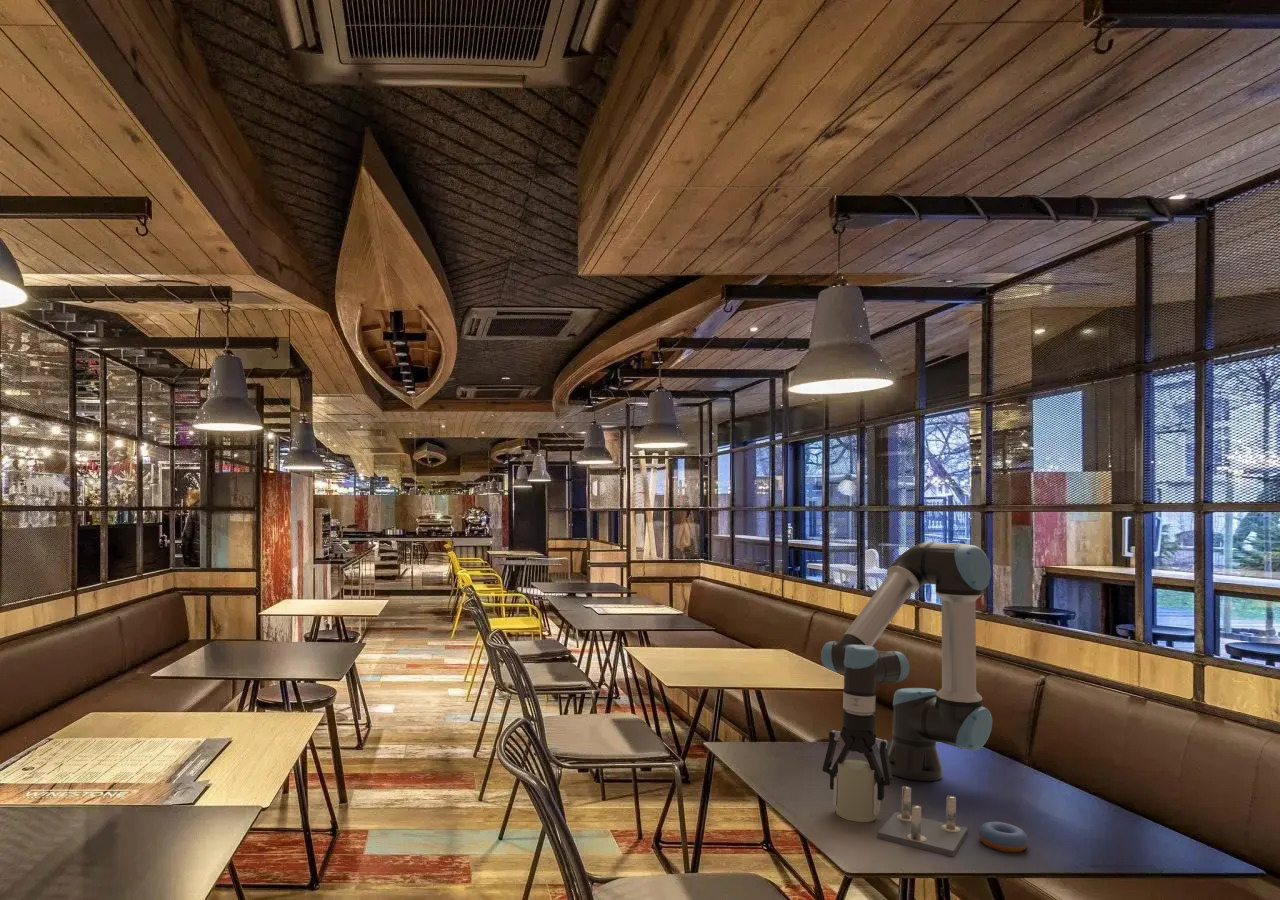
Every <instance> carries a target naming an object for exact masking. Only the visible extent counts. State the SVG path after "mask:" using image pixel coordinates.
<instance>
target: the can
mask: <svg viewBox="0 0 1280 900" xmlns="http://www.w3.org/2000/svg"><path fill="white" fill-rule="evenodd" d="M837 775H838V792H837V806H836V810H835V811H836V812H835V813H836V815H837V816H838V817H840V818H842V819H844V820H846V821H850V822H857V823H870V822H871V823H872V822H874V821H875V820H876V819H877V815H873V806H874V786H875V785H876V784H877V782H876V780H875V777H874V770H871V768H870V765H869V763H868V761H865V760H858V759H845V760H844V762H842V763H841V764H840V763H838V773H837Z"/></svg>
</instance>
